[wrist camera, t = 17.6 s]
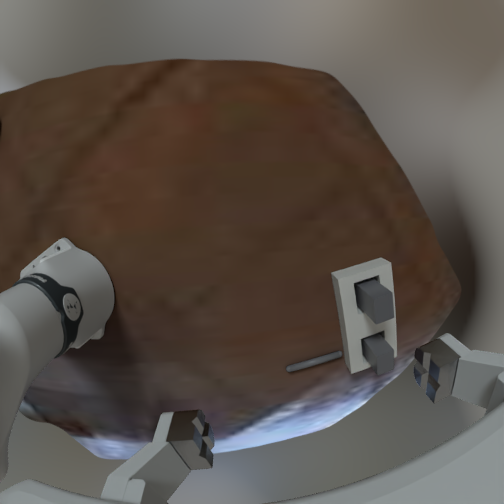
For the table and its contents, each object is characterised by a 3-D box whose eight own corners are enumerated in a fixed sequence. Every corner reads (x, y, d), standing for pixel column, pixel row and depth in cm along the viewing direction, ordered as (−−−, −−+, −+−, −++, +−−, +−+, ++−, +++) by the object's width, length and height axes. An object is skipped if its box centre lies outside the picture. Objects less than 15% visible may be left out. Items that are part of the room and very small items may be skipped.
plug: (353, 301, 45) (376, 324, 36) (350, 279, 44) (373, 299, 35) (370, 295, 44) (395, 317, 36) (367, 273, 44) (393, 292, 35)
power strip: (288, 380, 47) (296, 410, 39) (264, 291, 44) (269, 314, 35) (388, 347, 47) (409, 371, 39) (381, 257, 43) (407, 271, 35)
